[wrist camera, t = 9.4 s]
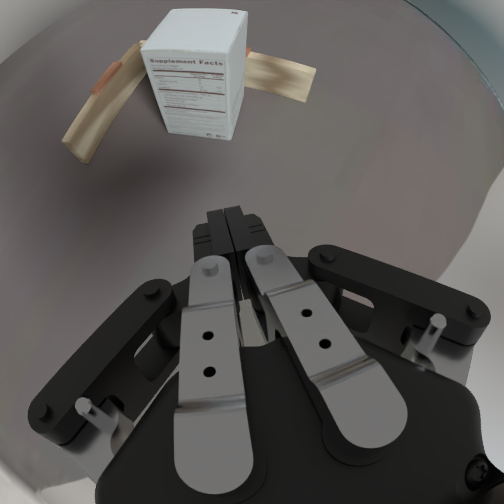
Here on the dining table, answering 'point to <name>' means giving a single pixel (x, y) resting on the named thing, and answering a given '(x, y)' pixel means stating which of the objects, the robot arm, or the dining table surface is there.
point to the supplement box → (198, 70)
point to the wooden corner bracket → (133, 71)
